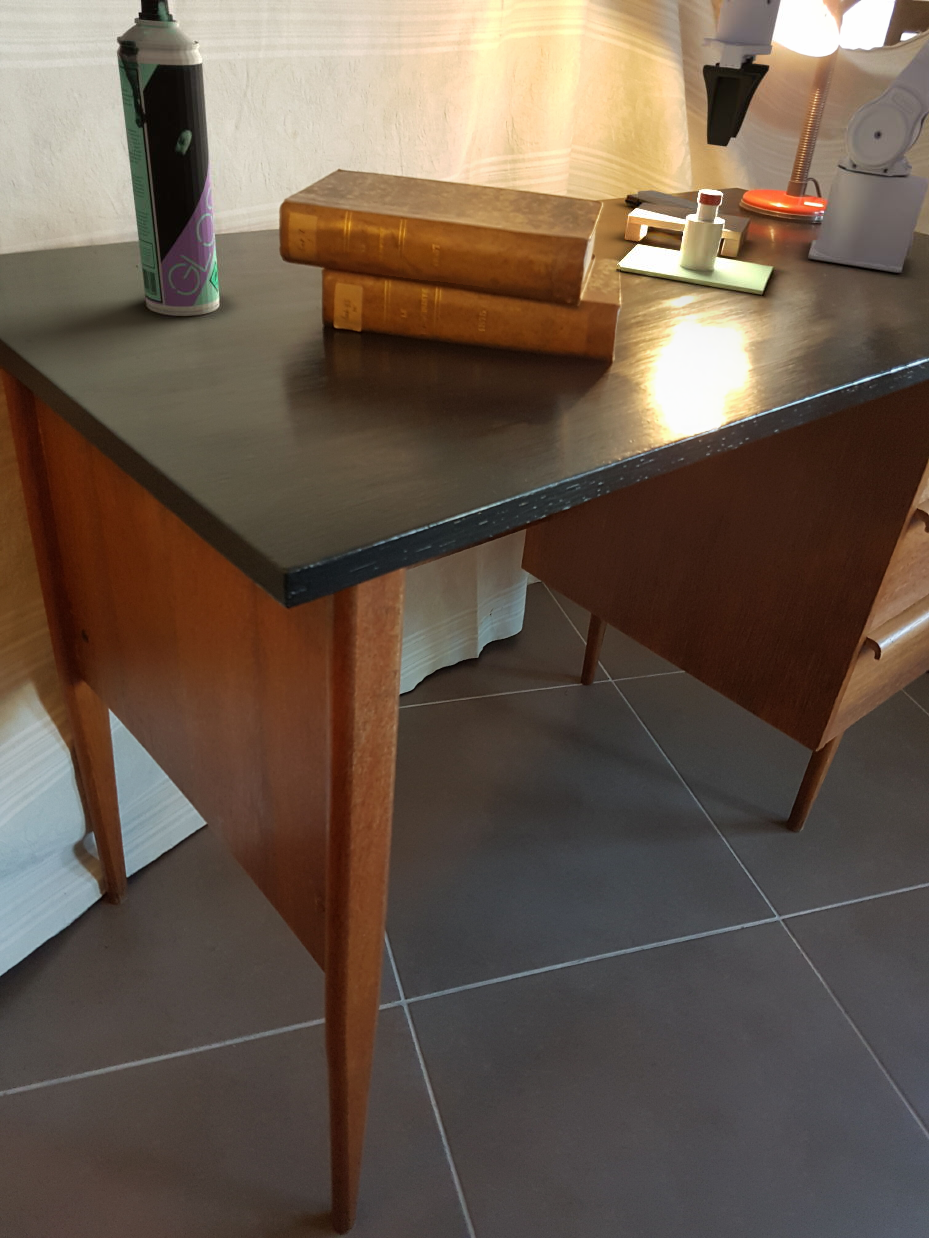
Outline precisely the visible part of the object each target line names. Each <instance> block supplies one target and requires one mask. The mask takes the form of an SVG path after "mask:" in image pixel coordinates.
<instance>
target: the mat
mask: <svg viewBox="0 0 929 1238" xmlns="http://www.w3.org/2000/svg"><path fill="white" fill-rule="evenodd" d="M679 254H680V250H674V249H668V248H662V247H655V246H650V245H643V244H637V245H635V247H634V248H632V250H631V251H630V252H628V253H627V254H626V256H625V257H623V259H621V261H619V262H618V264H619V265H620V270H621V271H620V270H619V271H620V272H625V273H626V272H627V273H632V274H633V273H634V274H638V275H645V276H648V277H649V276H650V277H656V278H661V279H668V280H673V281H679V282H685V283H690V284H695V285H696V284H697V285H702V286H706V287H707V286H709V287H714V288H720V289H725V290H732V291H737V292H742V293H749V294H755V295H760V296H762V295H763V293H764V291H765V288H766V286H767V284H768V281H769V279H770V277H771V274H772V272H773V268H774V266H773V265H772V266H771V265H765V264H759V263H754V262H747V261H741V260H736V259H728V258H723V257H717V259H716V263H715V268H714V269H713V270H711V271H696V270H690V269H686V268H683V267H681V266H679V265H678V259H679Z"/></svg>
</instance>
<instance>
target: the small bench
mask: <svg viewBox="0 0 929 1238" xmlns="http://www.w3.org/2000/svg"><path fill="white" fill-rule="evenodd" d="M697 212H698V210H692V209H685V208H678V207H672V206H665V205H659V204H652V203H646V202H644V203H642V204H641V205H640V206H639V207H638V208H636V207H635V209H634V210H633V211H632V212H630V213H629V214H628V216H627V223H626V228H625V235H624V240H627V241H631V242H632V241H633V242H640V241H641V240H642V239H643V238H644V237H645V236H647V234H648V233H650V232H651V230H652V229H653V228H657V229H658V228H659V229H665V230H671V231H677V232H683V233H684V229H685V224H686V219H687V216H689V215H697ZM716 217H717V218H720V219H722V220H724V227H723V231H722V236H721V239H724V240H723V244H722V248H721V253H720V255H721V256H724V257H730V258H737V257H738V255H739V253H740V252H741V250H742V249H743V247H744V244H745V243H746V240H747V236H748V231H749V227H750V223H751V218H749V217H743V216H737V215H730V214H729V215H728V214H725V213H724V214H723V213H722V214H718V213H717V214H716Z"/></svg>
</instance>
